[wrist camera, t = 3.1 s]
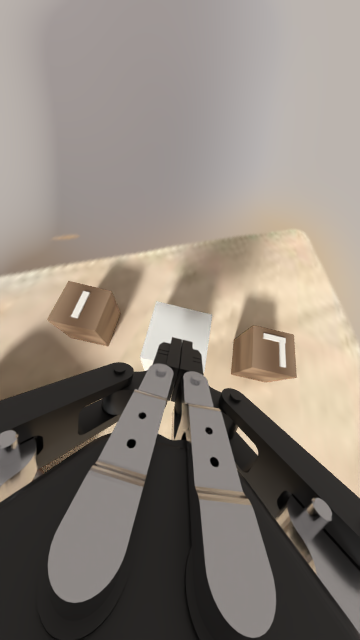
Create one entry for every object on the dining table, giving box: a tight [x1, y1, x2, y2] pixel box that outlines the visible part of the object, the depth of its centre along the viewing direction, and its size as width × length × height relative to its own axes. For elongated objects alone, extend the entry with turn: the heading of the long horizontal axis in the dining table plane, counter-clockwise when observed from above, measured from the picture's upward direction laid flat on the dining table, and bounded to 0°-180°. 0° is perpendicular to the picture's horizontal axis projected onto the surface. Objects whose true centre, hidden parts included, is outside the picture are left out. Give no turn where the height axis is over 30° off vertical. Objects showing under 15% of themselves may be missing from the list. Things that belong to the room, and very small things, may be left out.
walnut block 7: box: [231, 325, 297, 382], centre depth 23 cm, size 5×5×6 cm
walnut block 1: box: [47, 281, 121, 346], centre depth 23 cm, size 5×5×6 cm
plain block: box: [140, 301, 212, 373], centre depth 22 cm, size 6×6×8 cm
